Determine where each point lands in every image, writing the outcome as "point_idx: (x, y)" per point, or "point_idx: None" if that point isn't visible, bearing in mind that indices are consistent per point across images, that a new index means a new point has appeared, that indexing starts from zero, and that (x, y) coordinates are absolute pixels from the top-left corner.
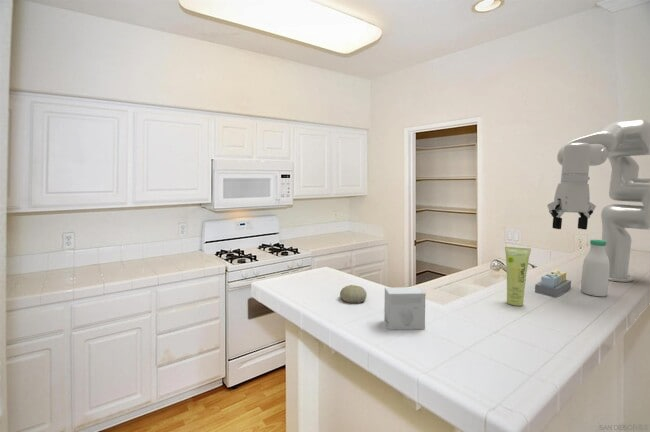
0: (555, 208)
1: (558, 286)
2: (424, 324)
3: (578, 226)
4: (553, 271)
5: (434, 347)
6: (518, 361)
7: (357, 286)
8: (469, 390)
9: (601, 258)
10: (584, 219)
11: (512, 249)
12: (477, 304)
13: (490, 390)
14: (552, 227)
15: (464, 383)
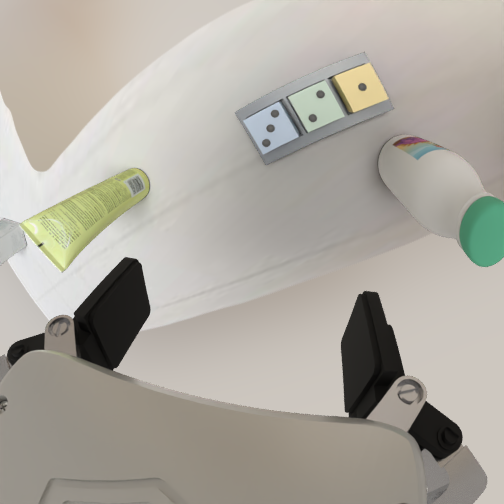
0: (39, 368)
1: (293, 145)
2: (23, 247)
3: (358, 308)
4: (351, 73)
5: (35, 276)
6: None
7: None
8: None
9: (437, 232)
10: (349, 399)
11: (35, 236)
12: (77, 179)
13: None
14: (126, 257)
15: (53, 317)
